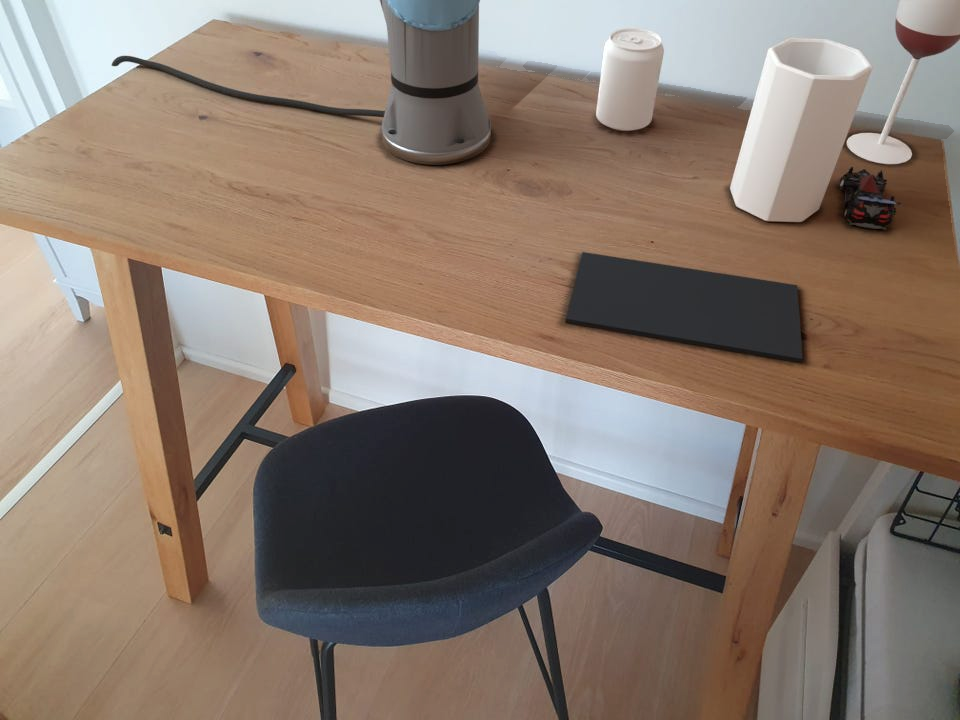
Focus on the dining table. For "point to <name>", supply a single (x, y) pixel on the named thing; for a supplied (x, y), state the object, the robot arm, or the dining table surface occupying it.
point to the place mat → (687, 306)
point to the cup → (798, 127)
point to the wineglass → (911, 67)
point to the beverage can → (629, 79)
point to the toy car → (861, 191)
